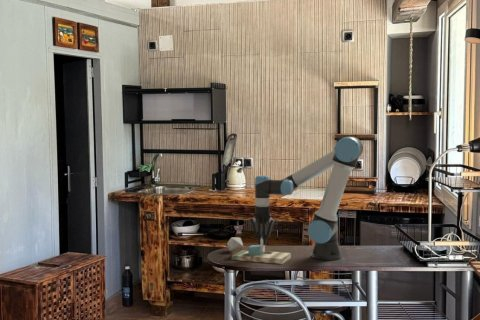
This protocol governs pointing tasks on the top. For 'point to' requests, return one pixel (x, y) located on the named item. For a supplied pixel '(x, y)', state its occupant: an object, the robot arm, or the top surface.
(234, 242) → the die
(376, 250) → the top surface
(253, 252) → the block
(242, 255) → the trap board
